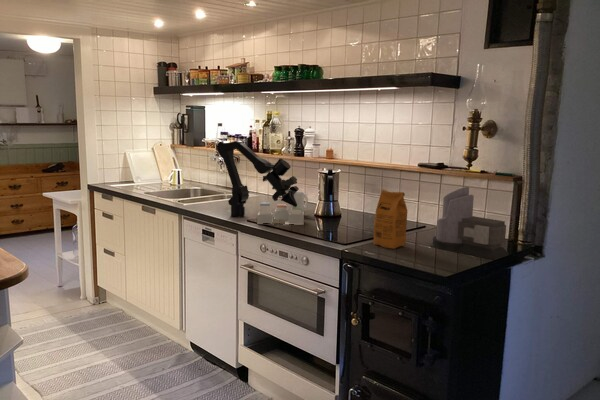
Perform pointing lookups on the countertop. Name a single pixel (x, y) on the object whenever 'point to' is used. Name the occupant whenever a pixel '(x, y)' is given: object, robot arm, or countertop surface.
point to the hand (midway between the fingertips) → (296, 206)
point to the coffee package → (390, 220)
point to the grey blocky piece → (468, 228)
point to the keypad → (281, 217)
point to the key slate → (265, 208)
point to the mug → (300, 200)
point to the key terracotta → (281, 207)
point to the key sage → (296, 210)
